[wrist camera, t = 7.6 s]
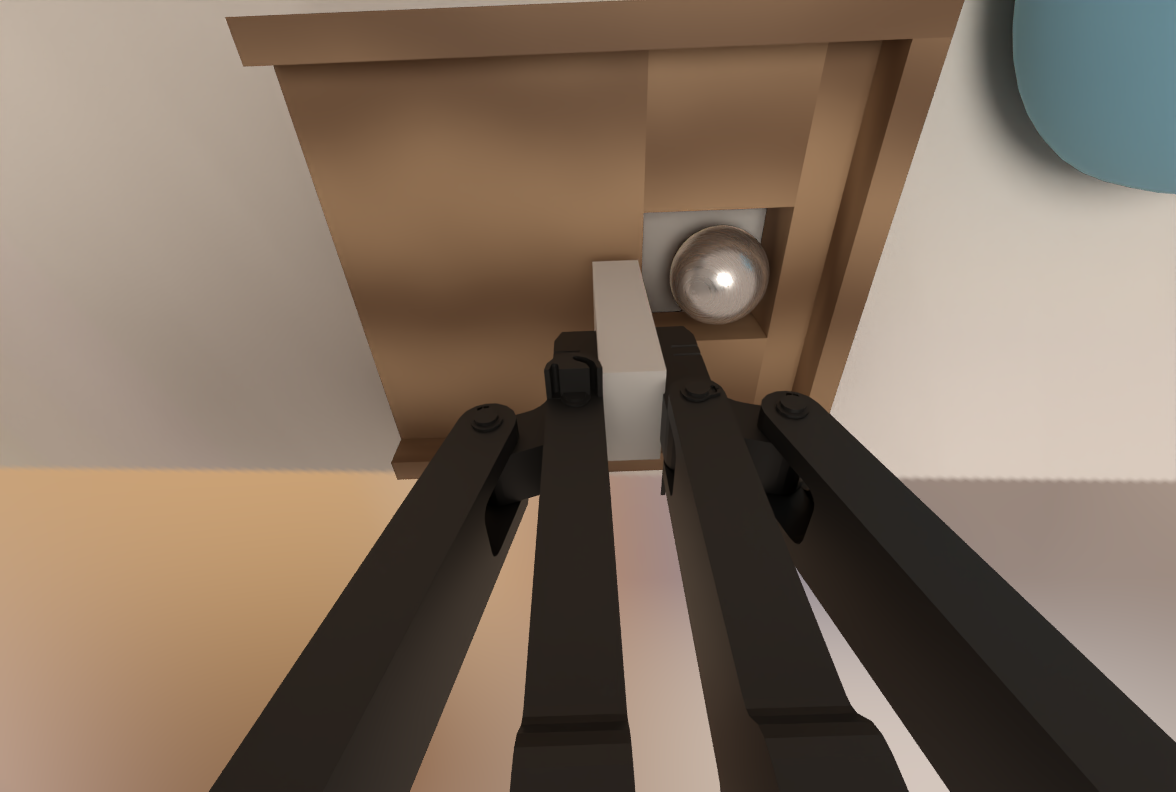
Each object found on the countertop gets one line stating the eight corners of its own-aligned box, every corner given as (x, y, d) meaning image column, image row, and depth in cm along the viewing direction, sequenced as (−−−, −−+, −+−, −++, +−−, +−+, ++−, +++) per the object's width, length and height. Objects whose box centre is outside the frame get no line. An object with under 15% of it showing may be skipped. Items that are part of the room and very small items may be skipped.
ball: (697, 208, 20) (653, 235, 17) (790, 219, 18) (756, 251, 16) (691, 293, 22) (651, 327, 19) (774, 311, 20) (741, 350, 18)
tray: (298, 18, 15) (225, 17, 12) (886, -6, 15) (969, -15, 12) (420, 420, 25) (397, 479, 22) (782, 407, 25) (812, 464, 22)
